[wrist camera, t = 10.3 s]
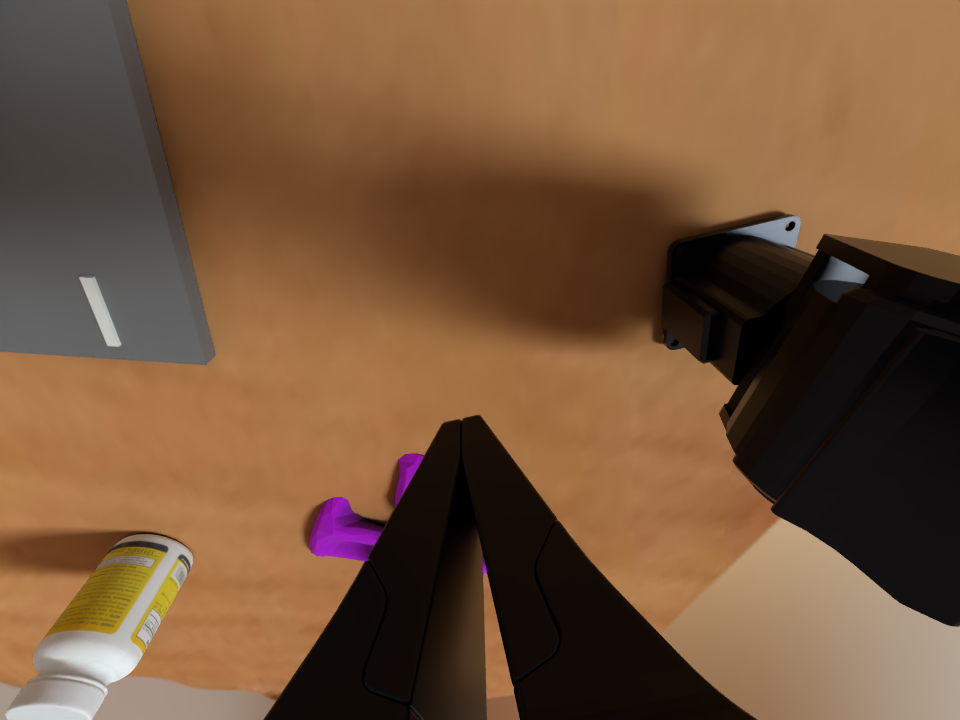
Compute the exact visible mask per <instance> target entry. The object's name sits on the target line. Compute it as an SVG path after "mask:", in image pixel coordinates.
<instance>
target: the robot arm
mask: <svg viewBox="0 0 960 720" xmlns="http://www.w3.org/2000/svg"><path fill="white" fill-rule="evenodd" d="M789 222H790V224H789V226H788V227H787V228H786V229H785V227H786V225H787V224H788V223H789ZM800 222H801V220H800V218H799V217H797V216H794V215H790V214H788V215H783V216H778V217H774V218H770V219H766V220H761V221H757V222H753V223H749V224H744V225H740V226H736V227H731V228H727V229H723V230H719V231H714V232H710V233H706V234H702V235H697V236H693V237H689V238H685V239H680V240H677V241H675V242H673V243H672V244H671V245H670V247H669V249H668V258H667V279H666V283H665V284H664V286H663V298H662V321H661V325H662V326H663V327H664V340H663V342H664V344H665V346H666V347H667V348H668V349H670V350H676V349H681V348H686V349H687V350H688V351H689V352H690V353H691V354H692V355H693V356H694V357H695V358H696V359H697V360H698V361H700V362H702V363H703V364H704V363H708V362H710V363H711V364H712V365H713V366H714V367H715V368H716V369H717V370H718V371H720V372H721V373H722V374H723V375H724V376H725V377H726V378H727V379H728V380H729V381H730V382H731V383H732V384H734V385H738V387H737V388H736V390H735V392H734V394H733V395H732V397H731V399H730V400H729V402H728V404H724V406H723V407H722V409H721V411H720V412H719V415H720V417H721V420H722V422H723V424H724V427H725V429H726V436H727V438H728V440H729V442H730V444H731V447H732V449H733V451H734V452H735V456H734V457H733V462H734V464H735V466H736V467H737V469H738V470H739V471H740V472H741V473H742V474H743V475H744V476H745V477H746V479H747V480H748V481H749V482H750V483H751V484H752V485H753V486H754V488H755V489H756V490H757V491H758V492H759V493H761V494H762V495H763V496H764V497H765V498H766V499H767V500H769V501H770V502H771V503H773V504H774V505H773V506H772V507H771V511H772V512H773V513H774V514H775V515H777V516H779V517H780V518H782V519H784V520H786V521H788V522H790V523H792V524H794V525H796V526H798V527H800V528H802V529H804V530H806V531H808V532H809V533H811V534H812V535H814V536H815V537H817V538H819V539H820V540H821V541H823V542H824V543H826V544H827V545H829V546H830V547H832V548H833V549H835V550H836V551H837V552H839V553H840V554H841V555H843V556H844V557H845V558H846V559H848V560H849V561H850V562H851V563H853V564H854V565H855V566H856V567H857V568H859V569H860V570H861V571H862V572H863V573H865V574H866V575H867V576H868V577H869V578H870V579H872V580H873V581H874V582H875V583H876V584H878V585H879V586H880V587H881V588H882V589H883V590H885V591H886V592H887V593H888V594H889V595H891V596H892V597H893V598H894V599H895V600H897V601H898V602H899V603H901V604H903V605H905V606H907V607H909V608H911V609H913V610H915V611H918V612H920V613H922V614H924V615H926V616H928V617H930V618H933V619H935V620H937V621H939V622H941V623H944V624H946V625H949V626H957V627H958V626H960V256H958V255H954V254H950V253H945V252H941V251H937V250H933V249H929V248H923V247H916V246H909V245H902V244H895V243H887V242H880V241H873V240H866V239H858V238H851V237H844V236H837V235H829V234H824V235H823V237H822V239H821V240H820V242H819V244H818V245H817V247H816V248H817V249H819V250H818V251H817V253H816V255H815V256H814V255H812V254H809V253H806V252H804V251H801V250H798V249H796V248H795V246H796V241H797V237H798V233H799V228H800ZM680 247H682V251H681V252H680V253H679V254H676V252H677V250H678V249H679V248H680ZM674 339H676V340H675V341H674V342H673V343H671V342H672V341H673V340H674ZM482 552H483V556H482ZM483 557H484V561H485V566H486V570H487V575H488V579H489V583H490V588H491V592H492V597H493V601H494V606H495V610H496V614H497V619H498V623H499V628H500V632H501V636H502V641H503V645H504V650H505V654H506V659H507V663H508V667H509V672H510V676H511V681H512V684H513V686H514V694H515V698H516V703H517V708H518V712H519V717H520V720H757V719H756V718H755V717H753V716H752V715H750V714H749V713H747V712H746V711H744V710H743V709H742V708H740V707H739V706H737V705H736V704H735V703H733V702H732V701H730V700H729V699H728V698H727V697H725V696H724V695H723V694H722V693H721V692H719V691H718V690H717V689H716V688H715V687H714V686H712V685H711V684H710V683H709V682H708V681H707V680H705V679H704V678H703V677H702V676H701V675H700V674H699V673H698V672H697V671H696V670H695V669H694V668H693V667H692V666H690V664H688V662H687V661H685V660H684V658H682V657H681V656H680V655H679V654H678V653H677V652H676V650H675V649H674V648H673V647H672V646H671V645H670V644H669V643H668V642H667V641H666V640H665V639H664V638H663V637H662V636H661V635H660V634H659V633H658V632H657V631H656V630H655V629H654V628H653V627H652V626H651V625H650V623H649V622H648V621H647V620H646V619H645V618H644V617H643V616H642V615H641V614H640V613H639V612H638V611H637V610H636V609H635V608H634V607H633V606H632V605H631V604H630V603H629V602H628V601H627V600H626V599H625V598H624V597H623V596H622V594H621V593H620V592H619V591H618V590H617V589H616V588H615V587H614V586H613V585H612V584H611V583H610V582H609V581H608V580H607V578H606V577H605V576H604V575H603V574H602V573H601V572H600V571H599V570H598V569H597V567H596V566H595V565H594V564H593V563H592V562H591V561H590V560H589V558H588V557H587V556H586V555H585V553H584V552H583V551H582V550H581V548H580V547H579V546H578V545H577V543H576V542H575V541H574V540H573V538H572V537H571V536H570V535H569V533H568V532H567V531H566V529H565V528H564V527H563V525H562V524H561V523H560V521H557V518H556V516H555V515H554V514H553V512H552V511H551V509H550V508H549V507H548V505H547V504H546V503H545V501H544V500H543V499H542V497H541V496H540V495H539V493H538V492H537V491H536V489H535V488H534V487H533V485H532V484H531V483H530V481H529V480H528V479H527V477H526V476H525V475H524V473H523V472H522V471H521V469H520V468H519V467H518V465H517V464H516V463H515V461H514V460H513V458H512V457H511V456H510V454H509V453H508V452H507V450H506V449H505V448H504V446H503V445H502V444H501V442H500V441H499V440H498V438H497V437H496V436H495V434H494V433H493V432H492V430H491V429H490V428H489V426H488V425H487V424H486V422H485V421H484V420H483V418H482V417H481V416H480V415H475V416H470V417H466V418H463V419H462V421H461V420H459V419H457V420H452V421H448V422H444V423H443V424H442V425H441V427H440V428H439V430H438V432H437V434H436V436H435V437H434V439H433V441H432V443H431V445H430V446H429V448H428V450H427V452H426V453H425V455H424V457H423V459H422V461H421V462H420V464H419V466H418V468H417V470H416V471H415V473H414V475H413V477H412V479H411V480H410V482H409V484H408V486H407V487H406V489H405V491H404V493H403V495H402V496H401V498H400V500H399V502H398V504H397V505H396V507H395V509H394V511H393V512H392V514H391V516H390V518H389V520H388V521H387V523H386V525H385V527H384V529H383V530H382V532H381V534H380V536H379V538H378V539H377V541H376V543H375V545H374V546H373V548H372V550H371V552H370V554H369V555H368V560H369V561H368V560H367V561H365V562H364V564H363V566H362V568H361V569H360V571H359V573H358V575H357V577H356V578H355V580H354V582H353V584H352V585H351V587H350V589H349V590H348V592H347V594H346V595H345V597H344V599H343V600H342V602H341V604H340V606H339V607H338V609H337V611H336V612H335V614H334V615H333V617H332V618H331V620H330V621H329V623H328V624H327V626H326V628H325V629H324V631H323V632H322V634H321V635H320V637H319V638H318V640H317V641H316V643H315V644H314V646H313V647H312V649H311V650H310V652H309V653H308V655H307V656H306V658H305V659H304V661H303V662H302V664H301V665H300V667H299V668H298V670H297V671H296V673H295V674H294V675H293V677H292V678H291V680H290V681H289V683H288V684H287V686H286V687H285V689H284V690H283V692H282V693H281V695H280V696H279V698H278V699H277V701H276V702H275V704H274V705H273V707H272V708H271V710H270V711H269V712H268V714H267V715H266V717H265V718H264V720H487V709H486V708H487V707H486V668H485V631H484V593H483Z"/></svg>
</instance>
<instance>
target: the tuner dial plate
mask: <svg viewBox="0 0 960 720" xmlns="http://www.w3.org/2000/svg"><path fill="white" fill-rule="evenodd" d="M0 351H1V352H16V353H31V354H46V355H62V356H77V357H92V358H107V359H122V360H138V361H153V362H168V363H183V364H199V365H207V364H208V363H209V361H210V360H211V359H212V358H213V357H214V356H215V351H214V347H213V343H212V340H211V336H210V332H209V328H208V324H207V320H206V316H205V312H204V308H203V304H202V300H201V296H200V292H199V288H198V284H197V280H196V276H195V272H194V268H193V264H192V260H191V257H190V253H189V249H188V245H187V241H186V237H185V233H184V229H183V225H182V221H181V217H180V213H179V209H178V205H177V201H176V197H175V193H174V189H173V185H172V181H171V177H170V173H169V170H168V166H167V162H166V158H165V154H164V150H163V146H162V142H161V138H160V134H159V130H158V126H157V122H156V118H155V114H154V110H153V106H152V102H151V98H150V94H149V90H148V87H147V83H146V79H145V75H144V71H143V67H142V63H141V59H140V55H139V51H138V47H137V43H136V39H135V35H134V31H133V27H132V23H131V19H130V15H129V11H128V7H127V4H126V0H0Z"/></svg>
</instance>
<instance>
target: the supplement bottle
mask: <svg viewBox="0 0 960 720" xmlns="http://www.w3.org/2000/svg"><path fill="white" fill-rule="evenodd" d="M192 564H193V556H192V553H191V552H190V550H189V549H188V548H187V547H185V546H184V545H182V544H181V543H179V542H177V541H175V540H173V539H170V538H167V537H164V536H159V535H153V534H138V535H132V536H128V537H126V538H124V539H122V540H120V541H119V542H117V543H116V544H115V545H114V547H113V548H112V549H111V550H110V551H109V552H108V554H107V555H106V557H105V558H104V559H103V560H102V562H101V563H100V564H99V566H98V567H97V568H96V570H95V571H94V572H93V574H92V575H91V576H90V578H89V579H88V580H87V582H86V583H85V584H84V586H83V587H82V588H81V589H80V591H79V592H78V593H77V595H76V596H75V597H74V599H73V600H72V601H71V603H70V604H69V605H68V607H67V608H66V609H65V611H64V612H63V613H62V615H61V616H60V617H59V619H58V620H57V621H56V623H55V624H54V625H53V626H52V628H51V629H50V630H49V632H48V633H47V634H46V636H45V637H44V638H43V640H42V641H41V643H40V644H39V646H38V647H37V649H36V650H35V653H34V656H33V664H34V667H35V669H36V670H37V671H38V672H39V674H38V676H37V677H35V678H33V679H31V680H29V681H28V682H27V684H26V685H25V686H24V687H23V688H22V689H21V690H20V692H19V694H18V695H17V697H16V698H15V699H14V701H13V702H12V703H11V705H10V706H9V708H8V709H7V711H6V713H5V716H6V718H7V719H8V720H92V719H93V717H94V715H95V713H96V712H97V710H98V709H99V707H100V705H101V704H102V702H103V700H104V698H105V696H106V695H107V691H108V690H107V688H106V687H107V685H108V684H109V683H112V682H115V681H117V680H119V679H121V678H123V677H125V676H126V675H128V674H129V673H130V672H131V671H132V670H133V669H134V668H135V667H136V666H137V664H138V662H139V661H140V659H141V657H142V656H143V654H144V652H145V650H146V648H147V647H148V645H149V643H150V641H151V639H152V637H153V636H154V634H155V632H156V630H157V628H158V627H159V625H160V623H161V621H162V620H163V618H164V616H165V614H166V612H167V610H168V609H169V607H170V605H171V603H172V602H173V600H174V598H175V596H176V594H177V592H178V591H179V589H180V587H181V585H182V583H183V582H184V580H185V578H186V576H187V574H188V573H189V571H190V569H191V566H192Z"/></svg>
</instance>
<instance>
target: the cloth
mask: <svg viewBox="0 0 960 720" xmlns="http://www.w3.org/2000/svg"><path fill="white" fill-rule="evenodd" d="M423 457H424V456H423V455H419V454H405V455H404V456H402V457H401V458H400V459H398V461H399V479H398V484H397V489H396V493H395V503H394V508H395V507H396V505H397V504H398V502H399V500H400V498H401V496H402V495H403V493H404V491H405V489H406V487H407V486H408V484H409V482H410V480H411V479H412V477H413V475H414V473H415V471H416V470H417V468H418V466H419V464H420V462H421V461H422V459H423ZM383 529H384V527H383V526H380V525H378V524H375V523H372V522H370V521H368V520H366V519H365V518H363V517H362V516H360V515H359V514H356V513H354V512H353V511H352V509H351V507H350V504H349V502H348V500H346V499H345V498H343V497H334V498H331V499H328V501H327V502H325V504H324V505H323V507H322V508H321V510H320V512H319V514H318V516H317V518H316V520H315V523H314V526H313V530H312V533H311V535H310V541H309V547H310V551H311V553H313V554H314V555H316V556H323V557H324V556H333V557H341V558H348V559H355V560H361V561H367V560H368V555H369V554H370V552H371V550H372V548H373V546H374V545H375V543H376V541H377V539H378V538H379V536H380V534H381V532H382V530H383ZM482 556H483V552H482ZM368 561H369V560H368ZM485 573H487V570H486V566H485V561H484V557H483V574H485Z"/></svg>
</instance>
